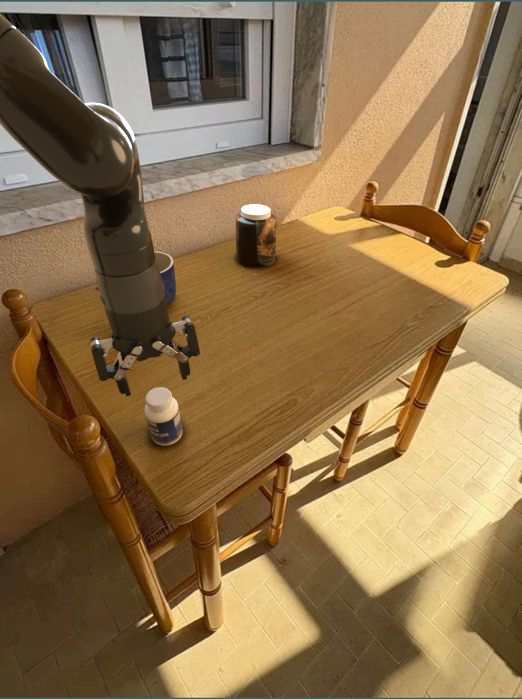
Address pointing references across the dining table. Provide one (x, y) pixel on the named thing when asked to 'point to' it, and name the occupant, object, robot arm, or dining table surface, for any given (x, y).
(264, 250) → the jar
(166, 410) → the pill bottle
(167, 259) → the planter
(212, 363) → the dining table surface
